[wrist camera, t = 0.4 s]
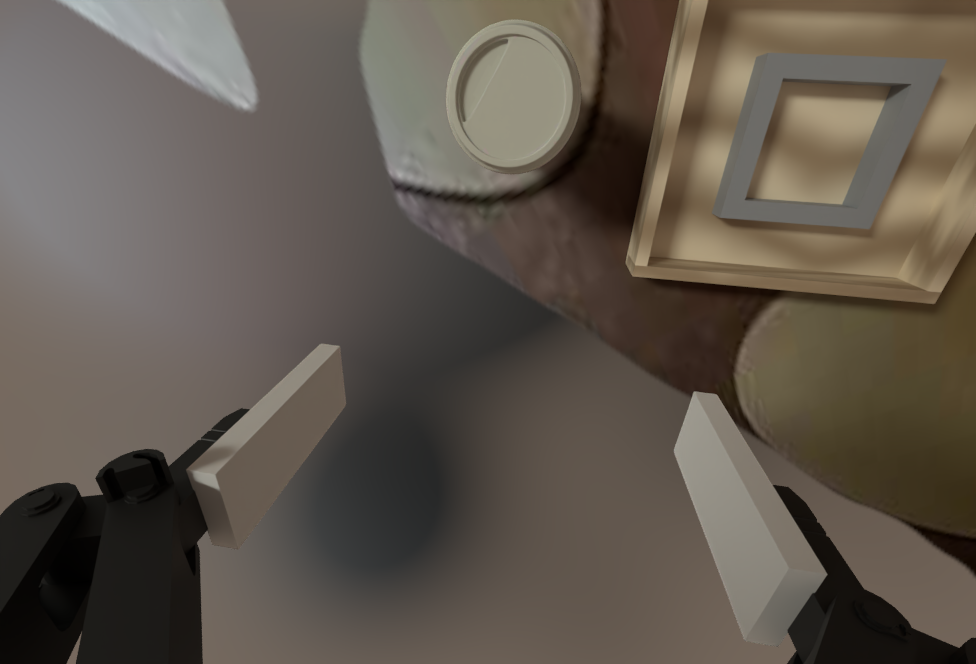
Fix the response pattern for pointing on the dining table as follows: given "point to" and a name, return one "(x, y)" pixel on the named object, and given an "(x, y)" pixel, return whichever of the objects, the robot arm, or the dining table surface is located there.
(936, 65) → the slate socket
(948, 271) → the birch tray
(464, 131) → the coffee cup
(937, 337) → the dining table surface
